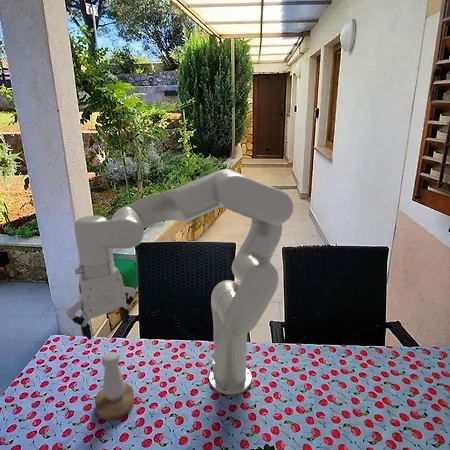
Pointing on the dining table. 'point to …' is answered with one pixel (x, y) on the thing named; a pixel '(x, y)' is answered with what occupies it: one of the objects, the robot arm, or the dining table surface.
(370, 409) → the dining table surface
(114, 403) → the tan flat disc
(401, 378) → the dining table surface
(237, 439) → the dining table surface
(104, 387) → the salt shaker
